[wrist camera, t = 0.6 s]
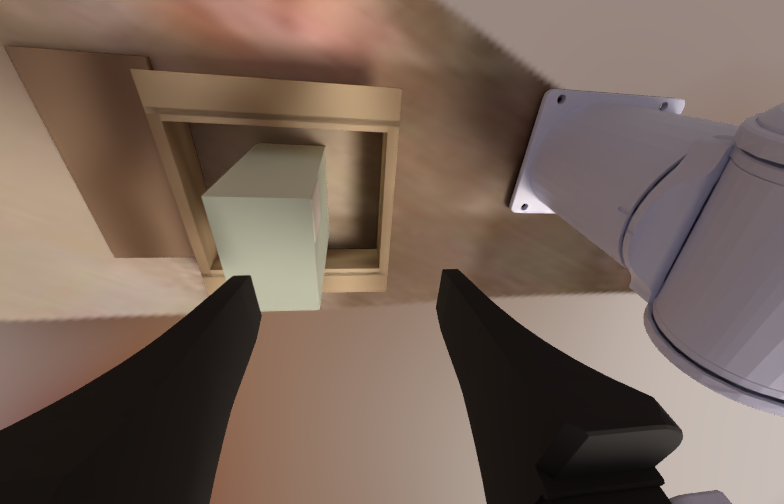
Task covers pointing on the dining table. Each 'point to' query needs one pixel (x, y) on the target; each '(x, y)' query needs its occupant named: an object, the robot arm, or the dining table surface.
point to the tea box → (274, 223)
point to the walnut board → (106, 146)
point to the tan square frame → (276, 109)
